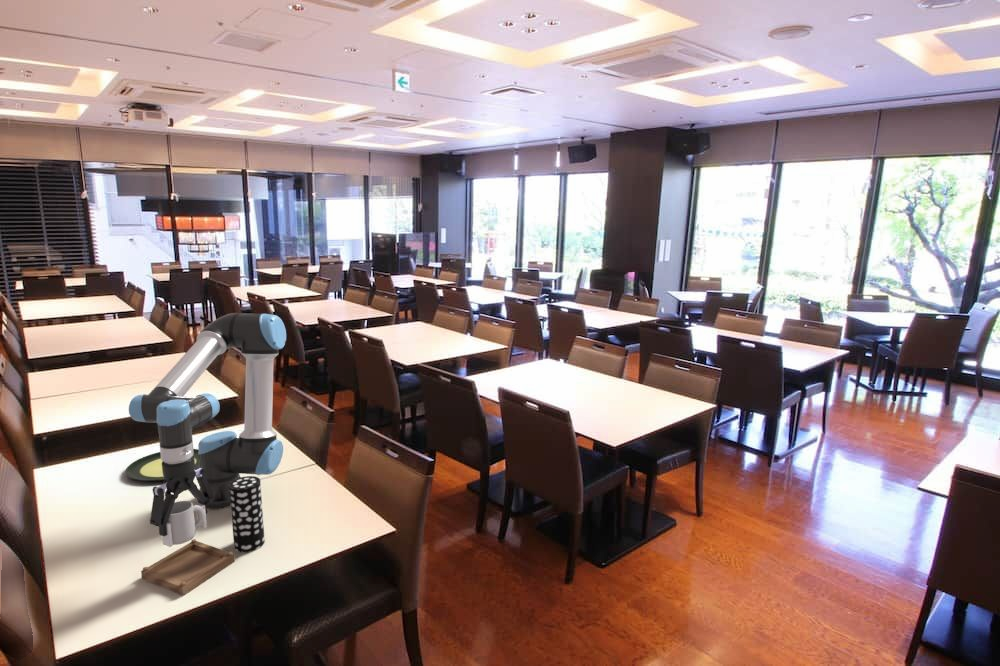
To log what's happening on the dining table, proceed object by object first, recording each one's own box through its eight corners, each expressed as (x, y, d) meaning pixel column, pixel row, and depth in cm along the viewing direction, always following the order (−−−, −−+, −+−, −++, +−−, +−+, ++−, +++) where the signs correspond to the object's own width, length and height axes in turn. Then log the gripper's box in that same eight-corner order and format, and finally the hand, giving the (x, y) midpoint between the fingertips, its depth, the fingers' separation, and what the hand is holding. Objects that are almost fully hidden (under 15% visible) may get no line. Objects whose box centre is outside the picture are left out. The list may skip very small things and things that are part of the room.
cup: (161, 537, 150) (158, 507, 148) (201, 523, 157) (198, 494, 155) (169, 548, 145) (166, 517, 143) (210, 534, 152) (207, 504, 150)
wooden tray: (142, 578, 149) (140, 569, 148) (195, 547, 163) (194, 538, 163) (183, 595, 143) (182, 585, 142) (234, 561, 157) (233, 552, 156)
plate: (187, 448, 232) (187, 442, 232) (224, 465, 217) (223, 459, 217) (112, 472, 210) (111, 466, 209) (147, 493, 194) (146, 487, 194)
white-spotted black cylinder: (245, 555, 160) (240, 492, 156) (228, 546, 164) (222, 484, 160) (270, 542, 167) (266, 480, 163) (253, 533, 171) (248, 473, 167)
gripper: (146, 478, 135) (156, 561, 139) (223, 446, 155) (229, 518, 159) (126, 472, 138) (136, 553, 142) (204, 441, 158) (211, 513, 162)
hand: (185, 535), depth 151 cm, fingers closed on cup, 10 cm apart
